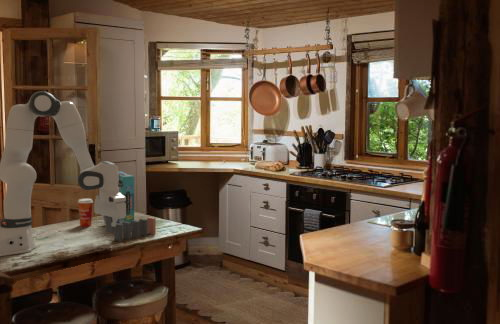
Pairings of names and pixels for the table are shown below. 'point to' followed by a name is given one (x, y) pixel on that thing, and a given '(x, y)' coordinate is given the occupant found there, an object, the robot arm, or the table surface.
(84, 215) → the paper cup
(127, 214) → the game box
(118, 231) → the tile
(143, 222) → the tile
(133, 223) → the tile
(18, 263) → the table surface
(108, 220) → the dark grey rectangular block
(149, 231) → the end tile
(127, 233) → the tile
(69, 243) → the table surface
